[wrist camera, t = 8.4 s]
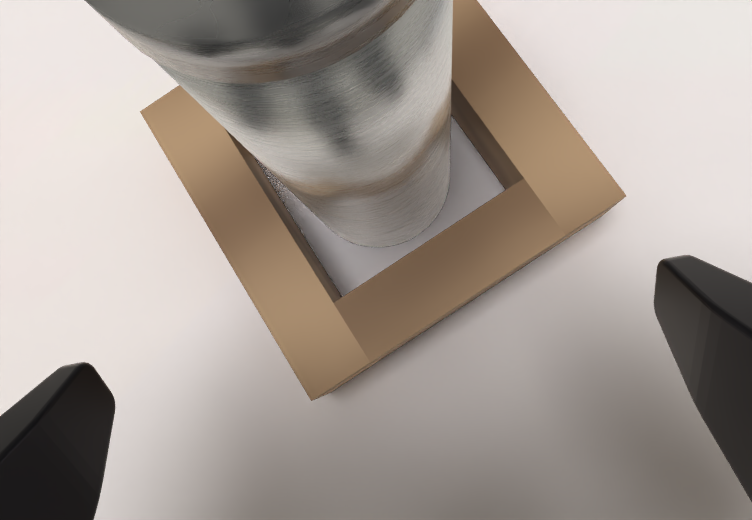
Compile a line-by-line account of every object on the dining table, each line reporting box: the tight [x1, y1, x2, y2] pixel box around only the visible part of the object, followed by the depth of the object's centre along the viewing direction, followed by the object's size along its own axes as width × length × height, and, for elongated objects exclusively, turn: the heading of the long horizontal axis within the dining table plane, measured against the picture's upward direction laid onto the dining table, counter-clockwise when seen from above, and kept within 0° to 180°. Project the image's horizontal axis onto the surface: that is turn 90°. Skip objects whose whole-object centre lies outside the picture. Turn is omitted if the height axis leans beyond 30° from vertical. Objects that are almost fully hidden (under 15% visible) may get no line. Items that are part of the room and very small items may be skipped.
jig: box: [140, 0, 626, 401], centre depth 17 cm, size 10×10×2 cm
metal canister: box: [85, 0, 453, 247], centre depth 12 cm, size 5×5×13 cm
